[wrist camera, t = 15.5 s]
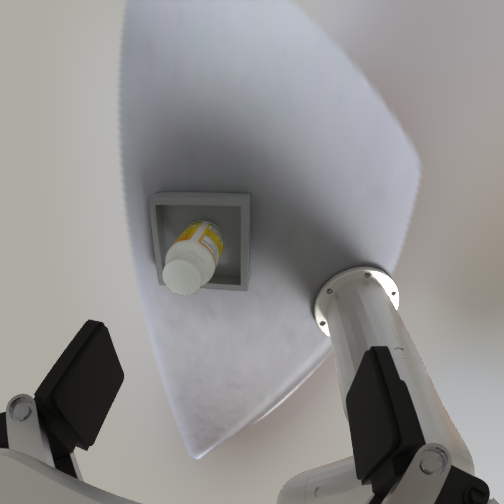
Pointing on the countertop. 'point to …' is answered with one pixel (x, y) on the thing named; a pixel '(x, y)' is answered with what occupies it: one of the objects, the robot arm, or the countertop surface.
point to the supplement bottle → (193, 258)
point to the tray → (213, 210)
